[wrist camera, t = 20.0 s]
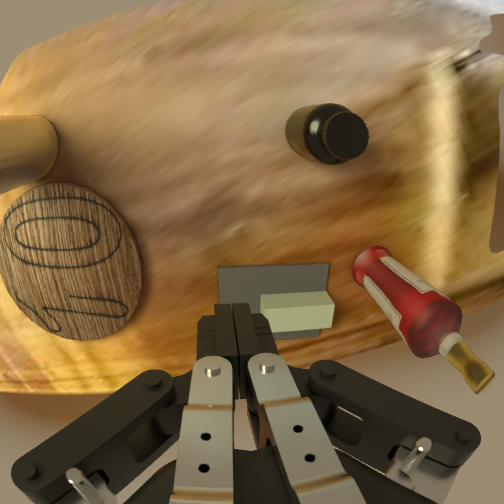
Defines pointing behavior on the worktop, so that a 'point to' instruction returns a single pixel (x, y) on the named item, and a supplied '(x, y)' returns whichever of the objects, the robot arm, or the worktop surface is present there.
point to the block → (297, 311)
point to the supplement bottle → (327, 133)
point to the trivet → (70, 261)
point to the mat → (271, 286)
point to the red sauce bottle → (420, 314)
